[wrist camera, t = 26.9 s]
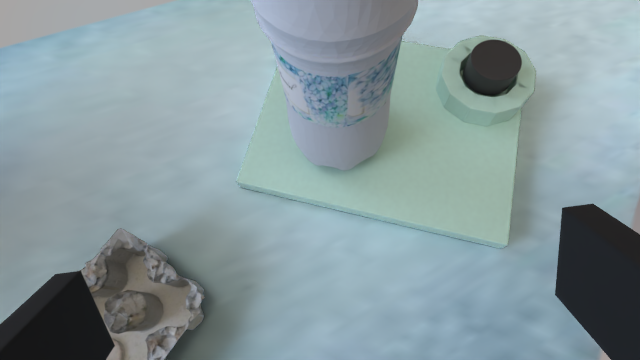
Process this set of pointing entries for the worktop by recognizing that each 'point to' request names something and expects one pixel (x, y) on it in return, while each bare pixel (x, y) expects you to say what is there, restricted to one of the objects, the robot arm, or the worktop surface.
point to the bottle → (336, 71)
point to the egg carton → (141, 298)
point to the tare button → (492, 67)
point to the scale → (412, 151)
